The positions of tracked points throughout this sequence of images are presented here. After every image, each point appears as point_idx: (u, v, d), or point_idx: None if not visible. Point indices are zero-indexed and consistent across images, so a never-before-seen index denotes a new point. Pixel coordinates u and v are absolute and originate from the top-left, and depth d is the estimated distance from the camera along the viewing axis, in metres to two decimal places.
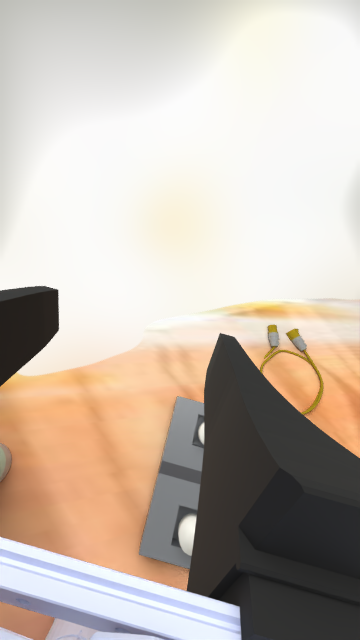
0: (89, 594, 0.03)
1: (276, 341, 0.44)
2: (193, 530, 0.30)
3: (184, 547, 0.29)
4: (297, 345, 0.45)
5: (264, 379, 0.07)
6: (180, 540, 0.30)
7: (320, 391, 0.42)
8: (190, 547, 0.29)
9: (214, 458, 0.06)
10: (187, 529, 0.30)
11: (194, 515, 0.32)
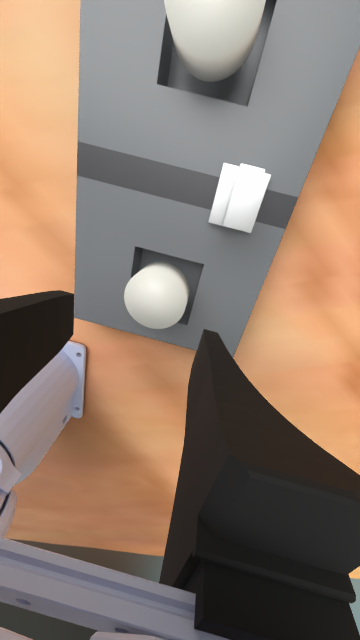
0: (89, 594, 0.03)
1: None
2: (154, 289, 0.13)
3: (137, 315, 0.14)
4: None
5: (240, 373, 0.07)
6: (127, 304, 0.14)
7: None
8: (148, 316, 0.14)
9: (189, 451, 0.06)
10: (140, 287, 0.13)
11: (164, 264, 0.14)
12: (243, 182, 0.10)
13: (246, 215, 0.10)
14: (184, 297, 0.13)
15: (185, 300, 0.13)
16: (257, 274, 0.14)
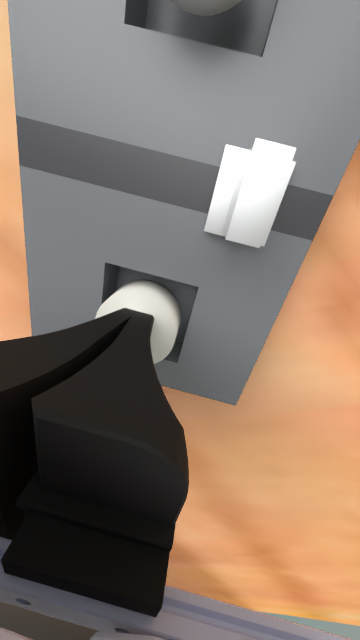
0: (89, 594, 0.03)
1: None
2: None
3: None
4: None
5: (145, 347, 0.07)
6: None
7: None
8: None
9: None
10: None
11: (147, 283, 0.11)
12: (259, 170, 0.06)
13: (262, 223, 0.07)
14: (173, 328, 0.10)
15: (174, 331, 0.10)
16: (271, 301, 0.11)
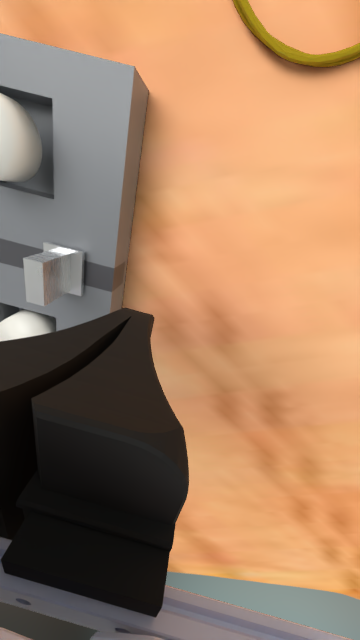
0: (89, 594, 0.03)
1: None
2: (18, 332, 0.17)
3: None
4: None
5: (145, 347, 0.07)
6: None
7: None
8: None
9: None
10: (7, 330, 0.17)
11: None
12: (30, 271, 0.12)
13: (41, 294, 0.13)
14: None
15: None
16: None
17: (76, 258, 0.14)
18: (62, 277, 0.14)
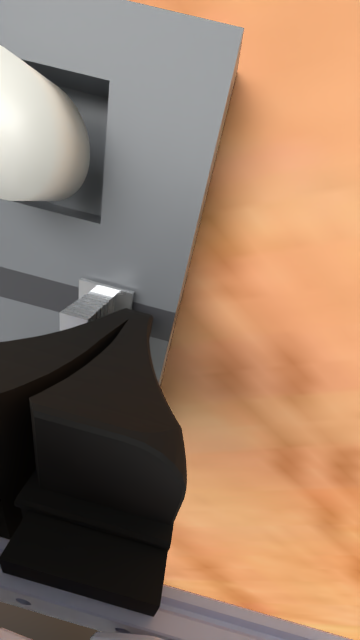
0: (89, 594, 0.03)
1: None
2: None
3: None
4: None
5: (144, 346, 0.07)
6: None
7: None
8: None
9: None
10: None
11: None
12: None
13: None
14: None
15: None
16: None
17: (123, 300, 0.10)
18: None
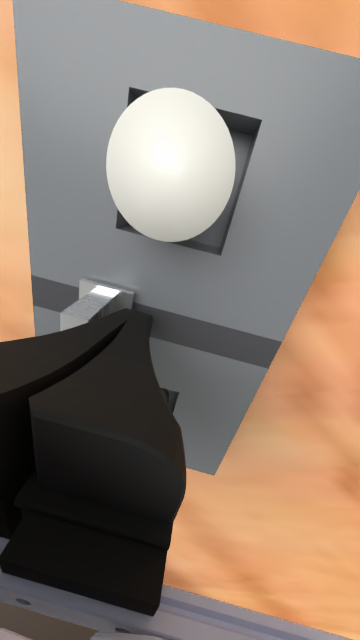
0: (89, 594, 0.03)
1: None
2: None
3: None
4: None
5: (143, 346, 0.07)
6: None
7: None
8: None
9: None
10: None
11: None
12: None
13: None
14: None
15: None
16: (238, 405, 0.13)
17: (123, 301, 0.11)
18: None
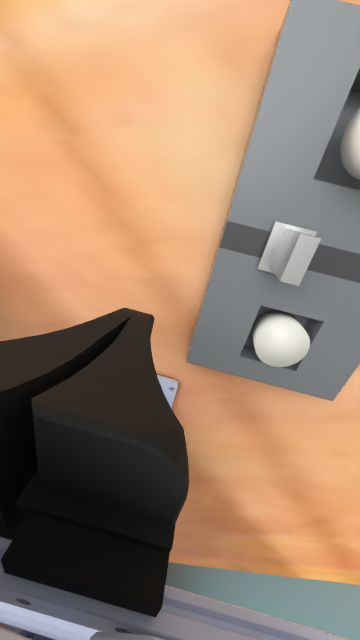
0: (89, 594, 0.03)
1: None
2: (283, 337, 0.16)
3: (263, 356, 0.17)
4: None
5: (145, 347, 0.07)
6: (257, 347, 0.17)
7: None
8: (273, 357, 0.17)
9: None
10: (272, 335, 0.16)
11: (286, 314, 0.17)
12: (301, 248, 0.12)
13: (301, 273, 0.12)
14: (308, 343, 0.16)
15: (308, 345, 0.16)
16: None
17: None
18: None
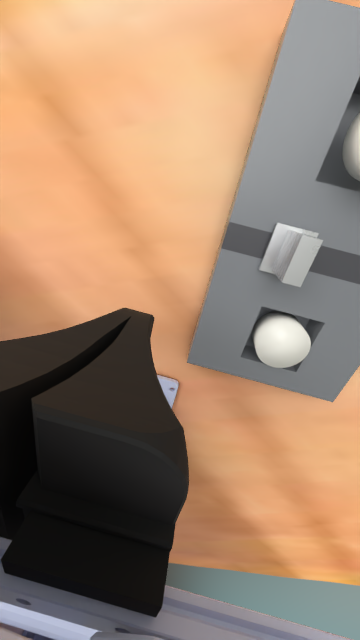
0: (89, 594, 0.03)
1: None
2: (284, 338, 0.16)
3: (264, 357, 0.17)
4: None
5: (145, 347, 0.07)
6: (258, 348, 0.17)
7: None
8: (274, 358, 0.17)
9: None
10: (273, 336, 0.16)
11: (287, 315, 0.17)
12: (303, 249, 0.12)
13: (303, 274, 0.12)
14: (309, 344, 0.16)
15: (309, 346, 0.16)
16: None
17: None
18: None
